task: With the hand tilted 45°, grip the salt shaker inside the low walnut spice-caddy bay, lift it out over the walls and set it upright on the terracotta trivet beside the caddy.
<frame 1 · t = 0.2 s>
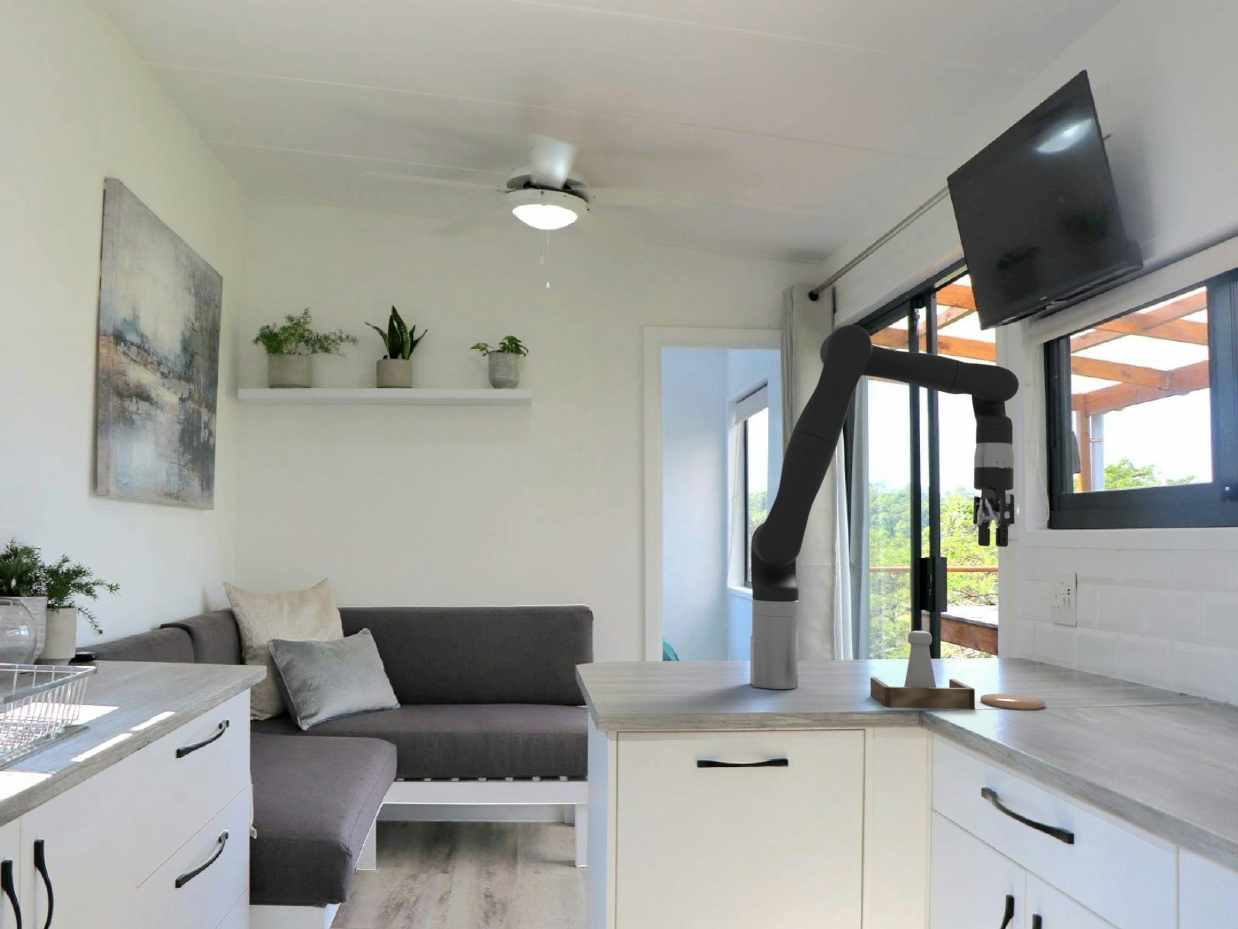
hand: (992, 546, 193), 29 cm above the worktop, tool pointing down, fingers open, 8 cm apart
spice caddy: (920, 701, 177), on the worktop
salt shaker: (920, 703, 177), on the worktop
trivet: (1012, 703, 177), on the worktop
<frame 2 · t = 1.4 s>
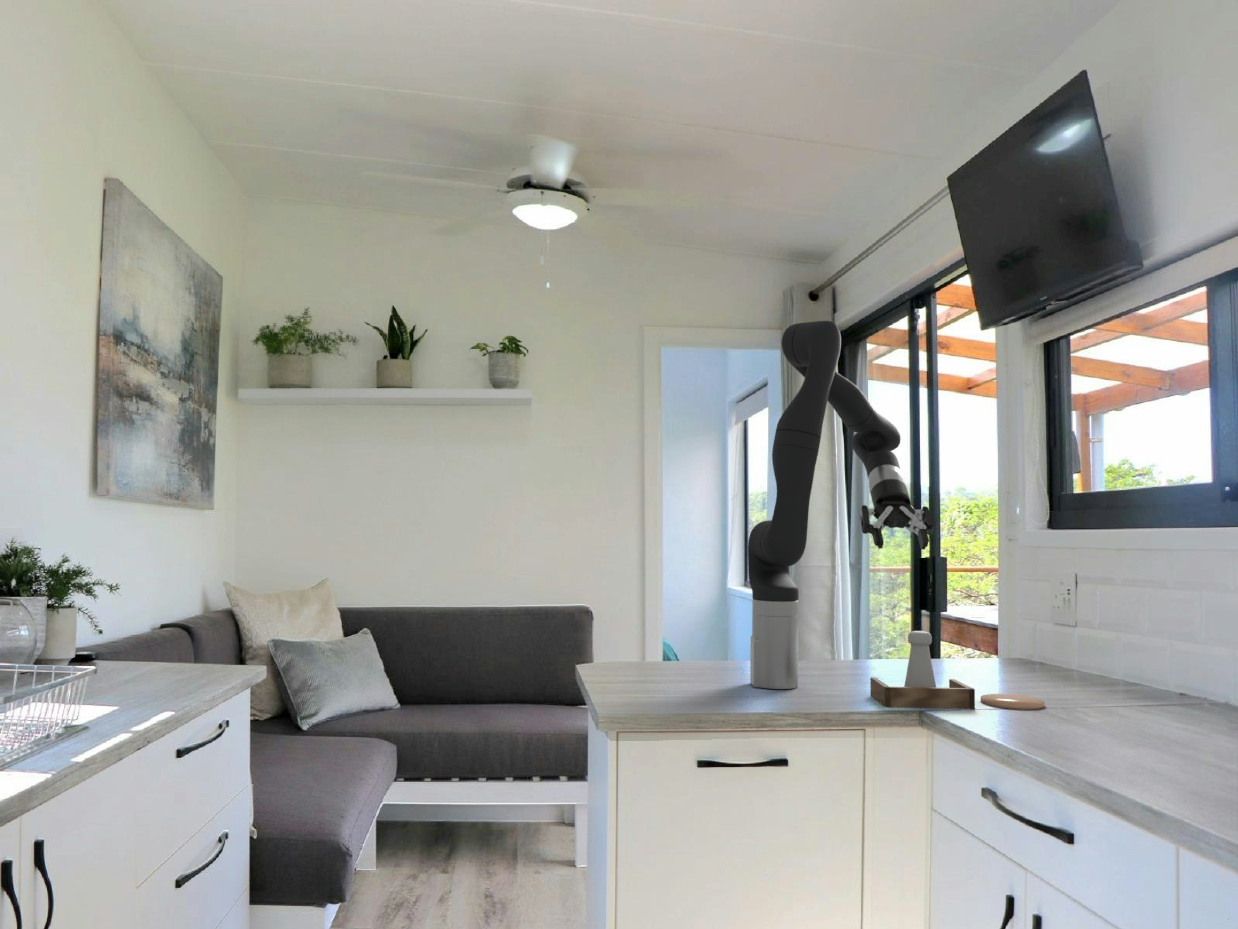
hand: (902, 546, 190), 29 cm above the worktop, tool tilted 45°, fingers open, 8 cm apart
nothing on the worktop moved.
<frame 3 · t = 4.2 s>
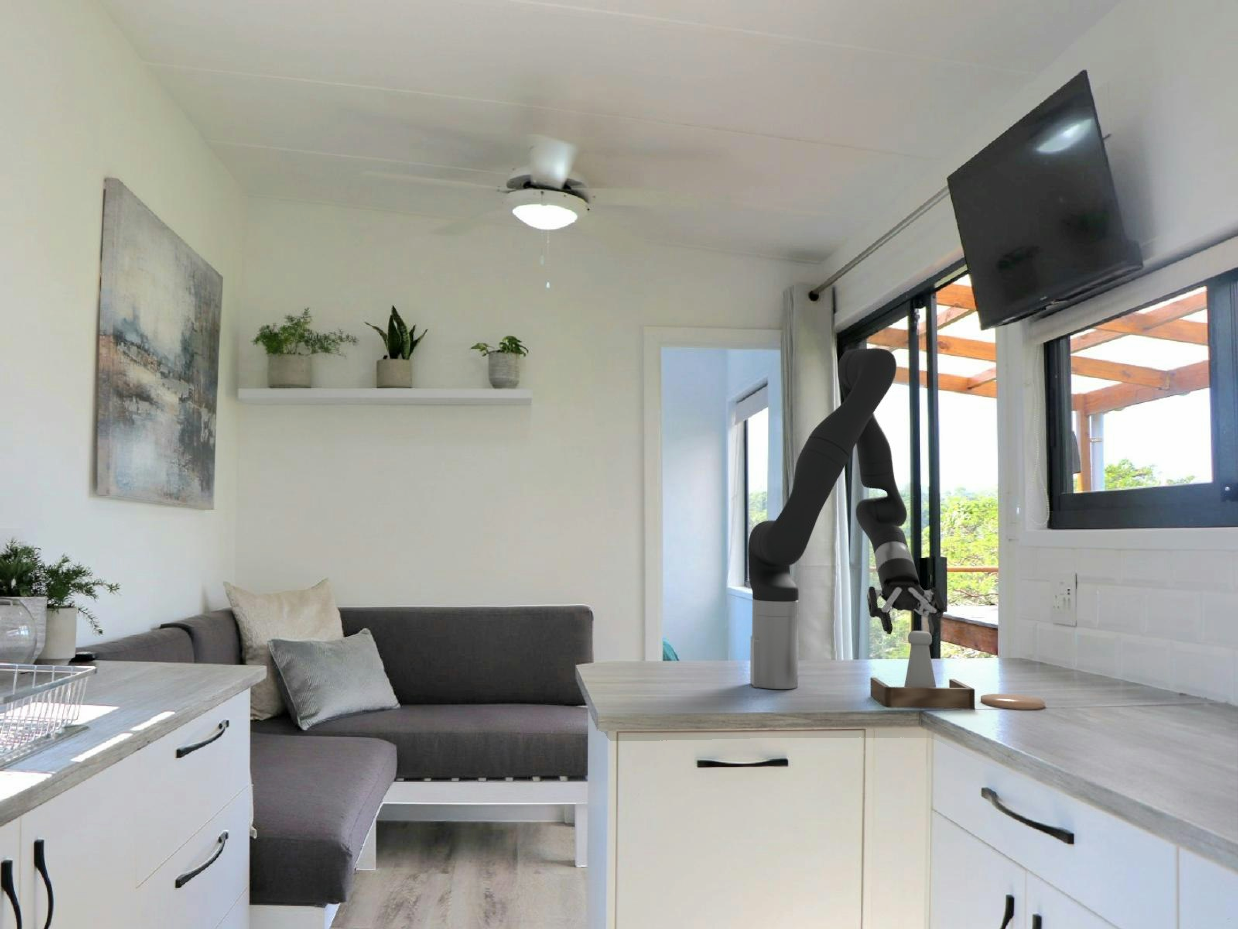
hand: (912, 632, 183), 12 cm above the worktop, tool tilted 45°, fingers open, 8 cm apart
nothing on the worktop moved.
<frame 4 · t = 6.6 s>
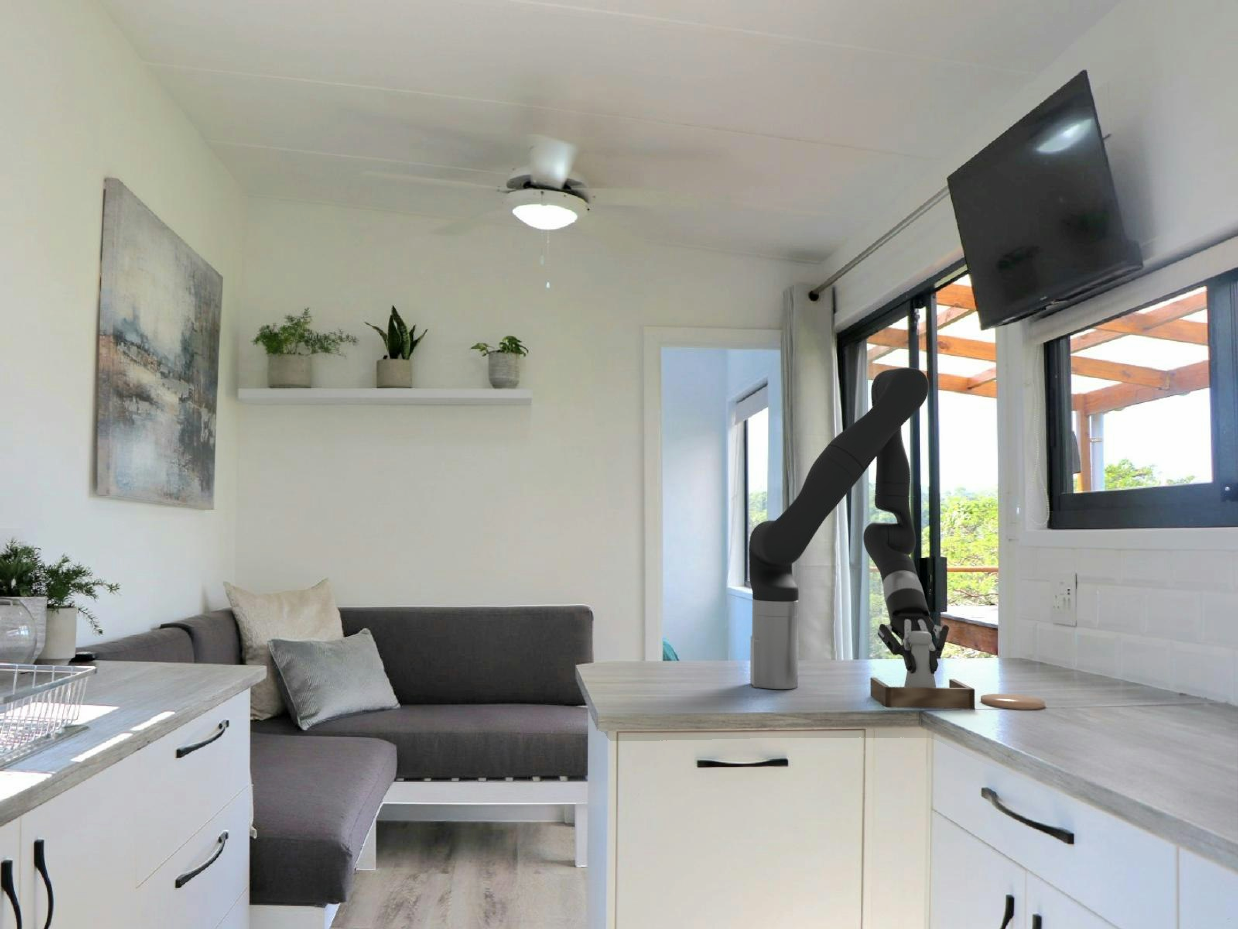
hand: (923, 671, 175), 6 cm above the worktop, tool tilted 45°, fingers closed on salt shaker, 3 cm apart
salt shaker: (920, 702, 177), on the worktop, touching gripper
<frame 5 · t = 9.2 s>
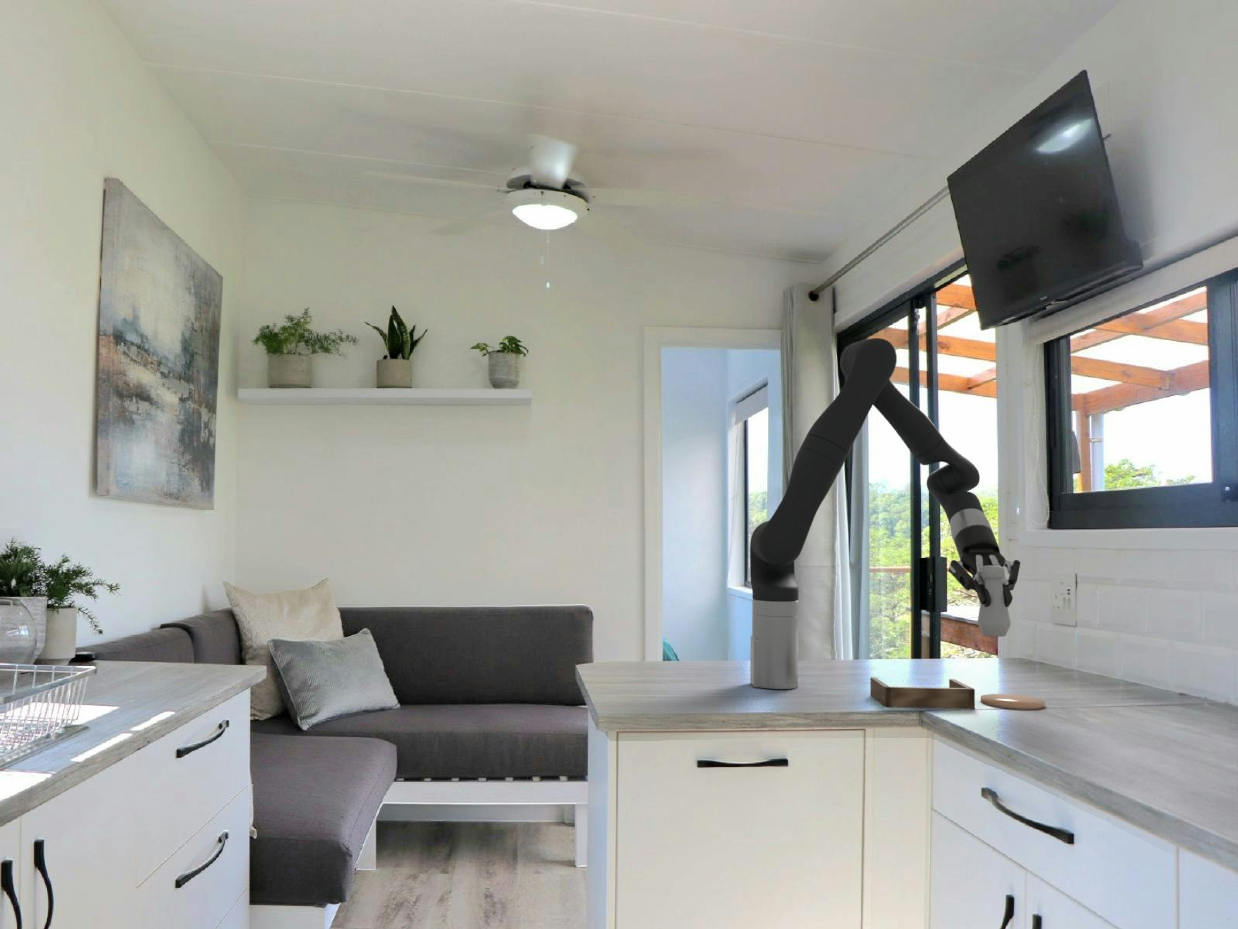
hand: (998, 604, 176), 18 cm above the worktop, tool tilted 45°, fingers closed on salt shaker, 3 cm apart
salt shaker: (994, 636, 178), point 12 cm above the worktop, touching gripper
when the fingers open (8 cm above the worktop, at t = 12.0 s): salt shaker drops 1 cm, resting on trivet.
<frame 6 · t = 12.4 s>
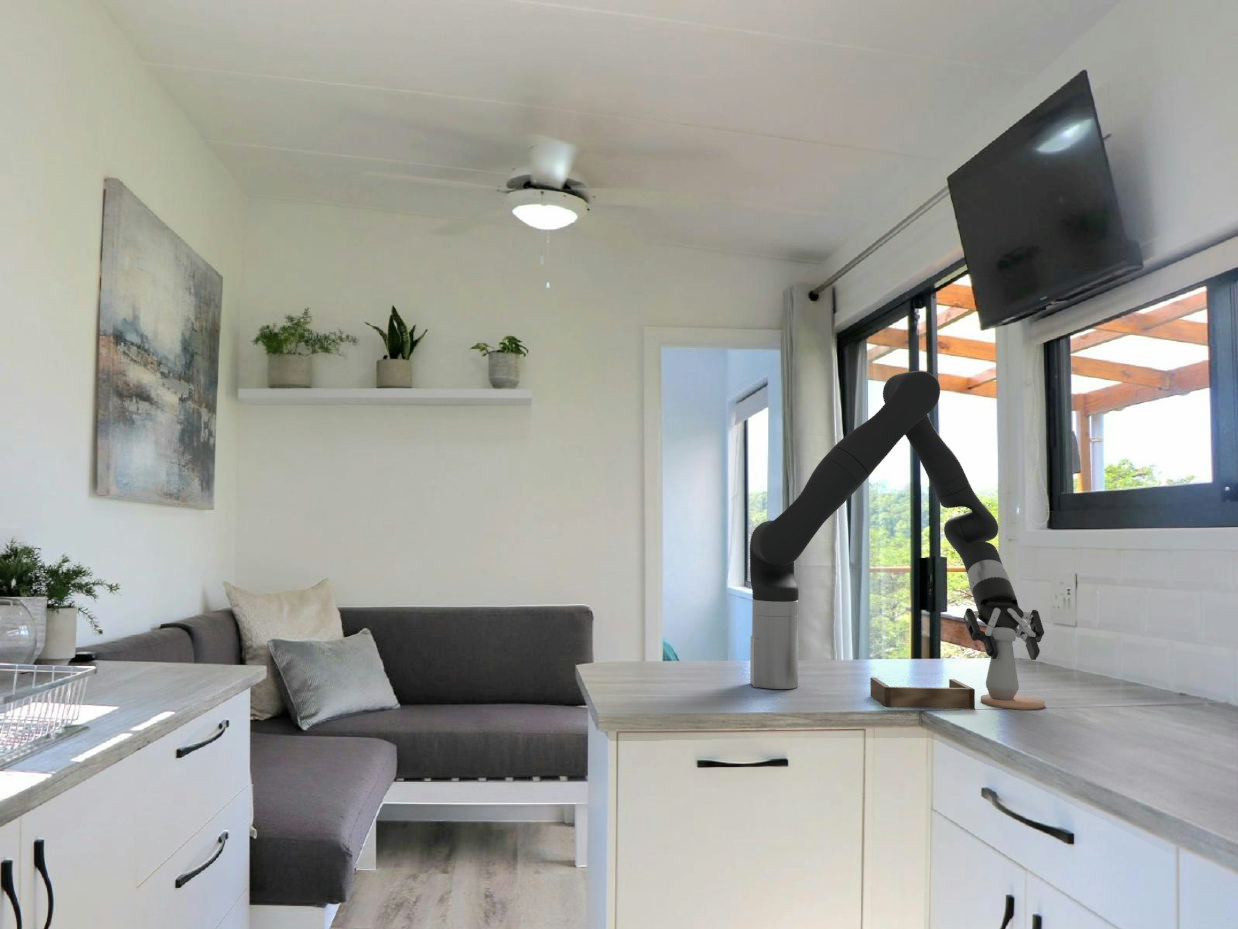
hand: (1015, 656, 176), 9 cm above the worktop, tool tilted 45°, fingers open, 6 cm apart
salt shaker: (1001, 699, 178), point 1 cm above the worktop, touching gripper, trivet
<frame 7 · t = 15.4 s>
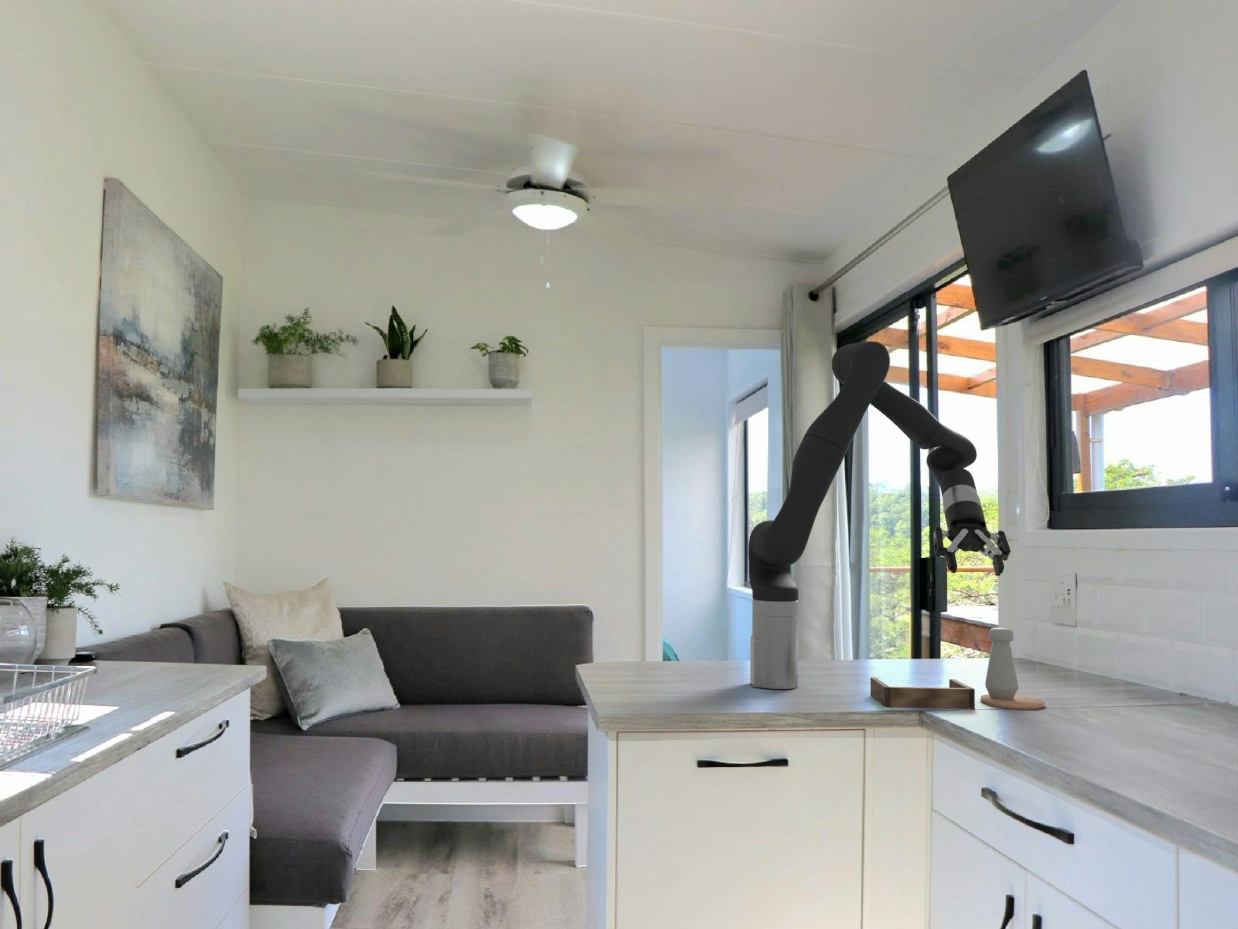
hand: (976, 572, 187), 24 cm above the worktop, tool tilted 40°, fingers open, 8 cm apart
salt shaker: (1001, 699, 178), point 1 cm above the worktop, touching trivet
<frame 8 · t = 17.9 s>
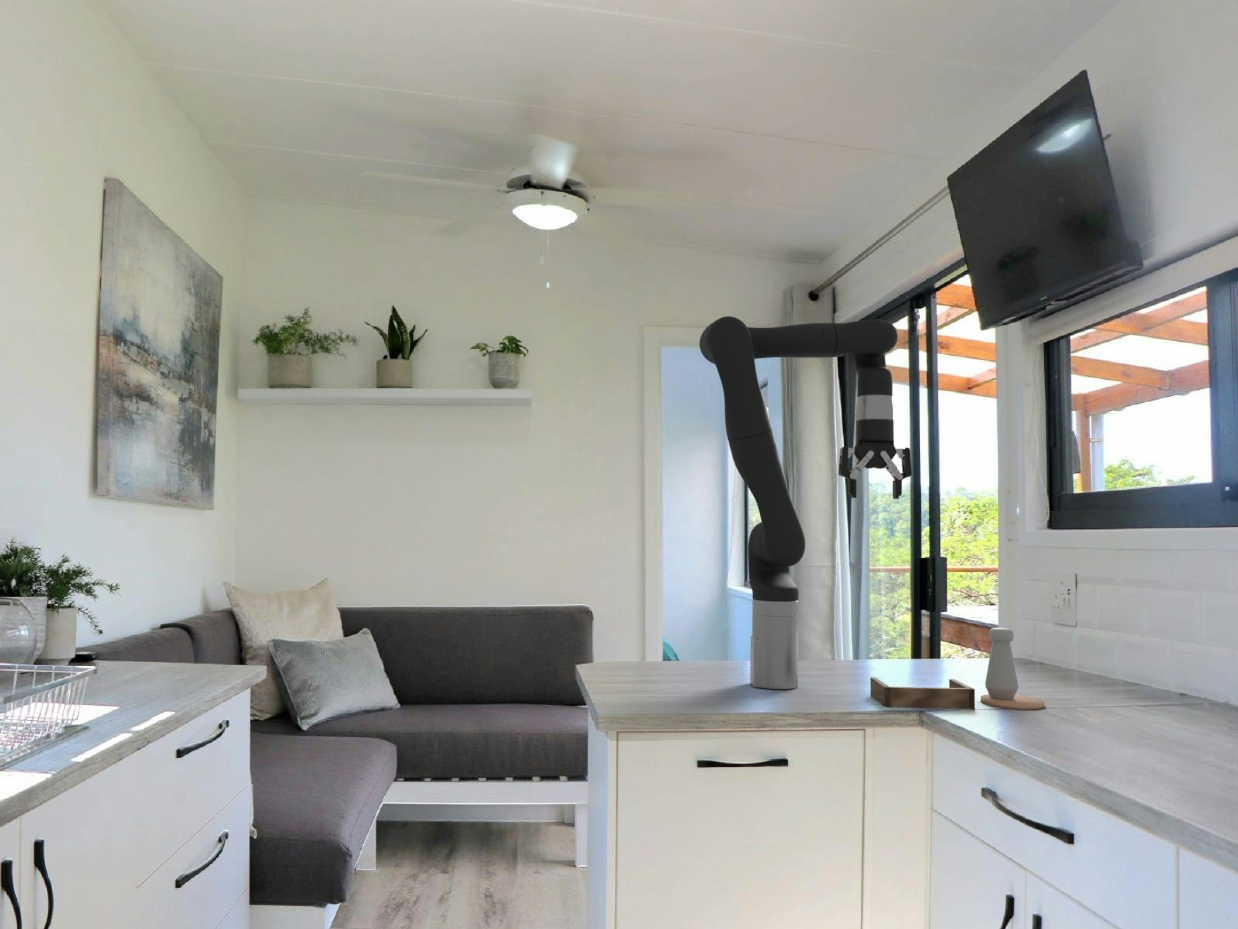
hand: (874, 498, 193), 38 cm above the worktop, tool pointing down, fingers open, 8 cm apart
nothing on the worktop moved.
at the end: salt shaker 1.8 cm off-centre on the trivet, point 0.6 cm above the trivet's base; salt shaker tilted 0°; the gripper is holding nothing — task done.
